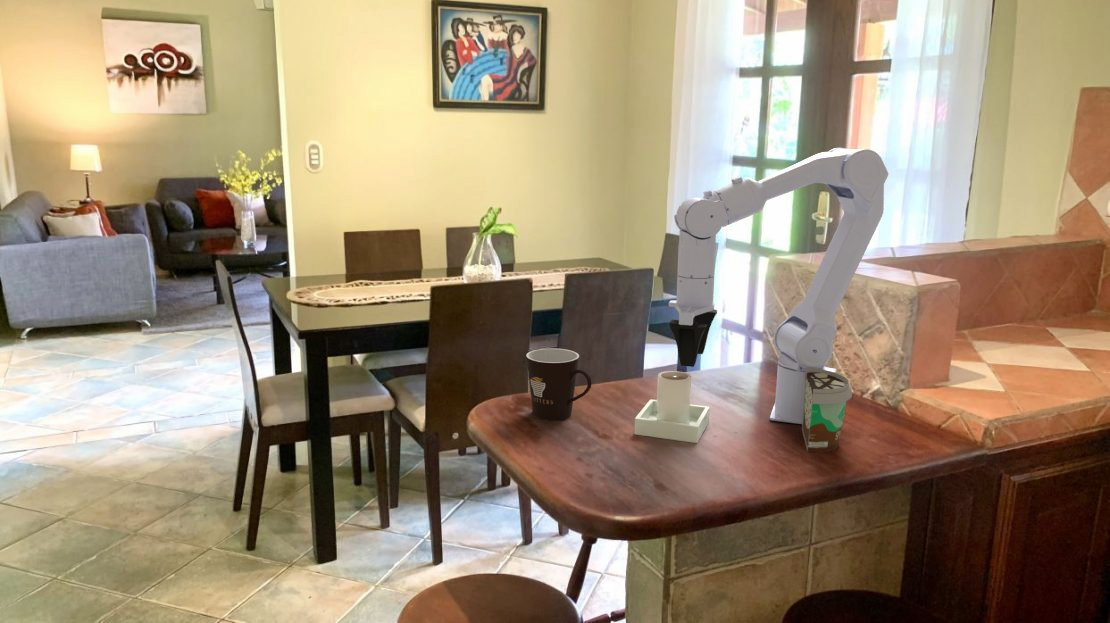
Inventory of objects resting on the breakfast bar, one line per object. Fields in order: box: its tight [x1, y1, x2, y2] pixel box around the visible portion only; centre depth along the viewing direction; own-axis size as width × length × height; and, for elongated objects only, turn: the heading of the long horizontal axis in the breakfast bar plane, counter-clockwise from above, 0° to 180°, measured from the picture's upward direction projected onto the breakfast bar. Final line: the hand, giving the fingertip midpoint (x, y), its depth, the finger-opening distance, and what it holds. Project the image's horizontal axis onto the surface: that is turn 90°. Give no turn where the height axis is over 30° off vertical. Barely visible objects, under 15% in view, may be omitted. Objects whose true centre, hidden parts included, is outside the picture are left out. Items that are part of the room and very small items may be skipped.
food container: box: [801, 367, 853, 453], centre depth 124 cm, size 12×6×10 cm, turn 168°
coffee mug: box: [525, 348, 592, 421], centre depth 133 cm, size 12×9×10 cm
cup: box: [656, 370, 692, 424], centre depth 129 cm, size 5×5×8 cm
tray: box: [634, 399, 711, 444], centre depth 130 cm, size 10×10×3 cm
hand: (692, 359), depth 131 cm, fingers open, 7 cm apart
